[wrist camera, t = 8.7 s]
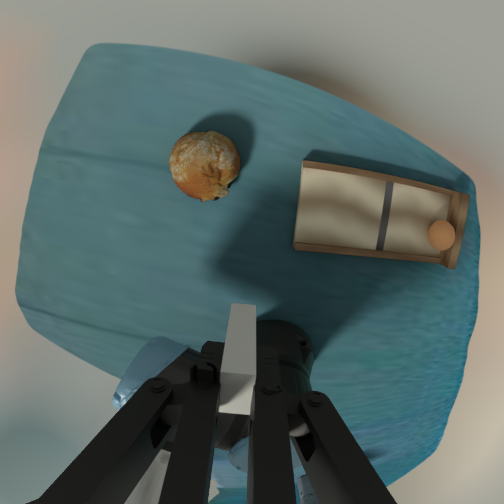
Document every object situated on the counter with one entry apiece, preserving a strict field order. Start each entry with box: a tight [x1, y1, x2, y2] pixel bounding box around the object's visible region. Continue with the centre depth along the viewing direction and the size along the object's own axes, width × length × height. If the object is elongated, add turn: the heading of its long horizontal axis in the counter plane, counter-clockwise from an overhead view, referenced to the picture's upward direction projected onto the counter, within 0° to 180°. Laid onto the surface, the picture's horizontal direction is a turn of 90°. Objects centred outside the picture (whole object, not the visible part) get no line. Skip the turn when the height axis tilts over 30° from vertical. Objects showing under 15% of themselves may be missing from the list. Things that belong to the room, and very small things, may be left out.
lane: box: [293, 160, 470, 269], centre depth 39 cm, size 13×29×4 cm, turn 85°
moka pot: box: [297, 475, 320, 504], centre depth 55 cm, size 10×15×20 cm, turn 91°
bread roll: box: [169, 131, 240, 202], centre depth 37 cm, size 10×10×8 cm
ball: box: [428, 220, 455, 251], centre depth 38 cm, size 5×5×5 cm
